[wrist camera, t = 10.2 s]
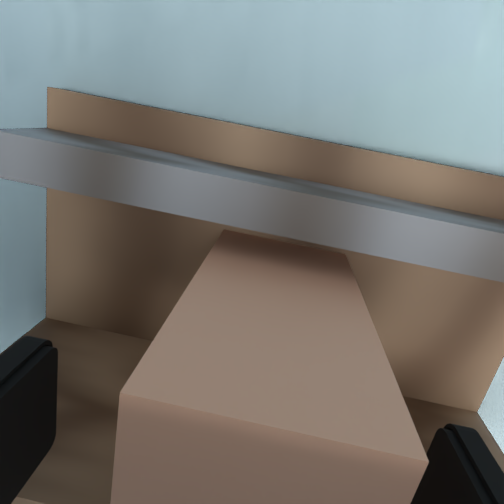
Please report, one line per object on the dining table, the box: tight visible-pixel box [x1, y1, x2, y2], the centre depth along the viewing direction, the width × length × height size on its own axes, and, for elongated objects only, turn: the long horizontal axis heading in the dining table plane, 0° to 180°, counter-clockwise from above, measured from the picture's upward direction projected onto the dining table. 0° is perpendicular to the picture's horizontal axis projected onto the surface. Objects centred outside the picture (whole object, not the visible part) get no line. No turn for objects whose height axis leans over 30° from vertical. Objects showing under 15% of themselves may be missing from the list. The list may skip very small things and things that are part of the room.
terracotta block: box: [110, 229, 429, 504], centre depth 12 cm, size 5×5×10 cm
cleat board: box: [0, 87, 504, 504], centre depth 13 cm, size 20×13×9 cm, turn 79°
